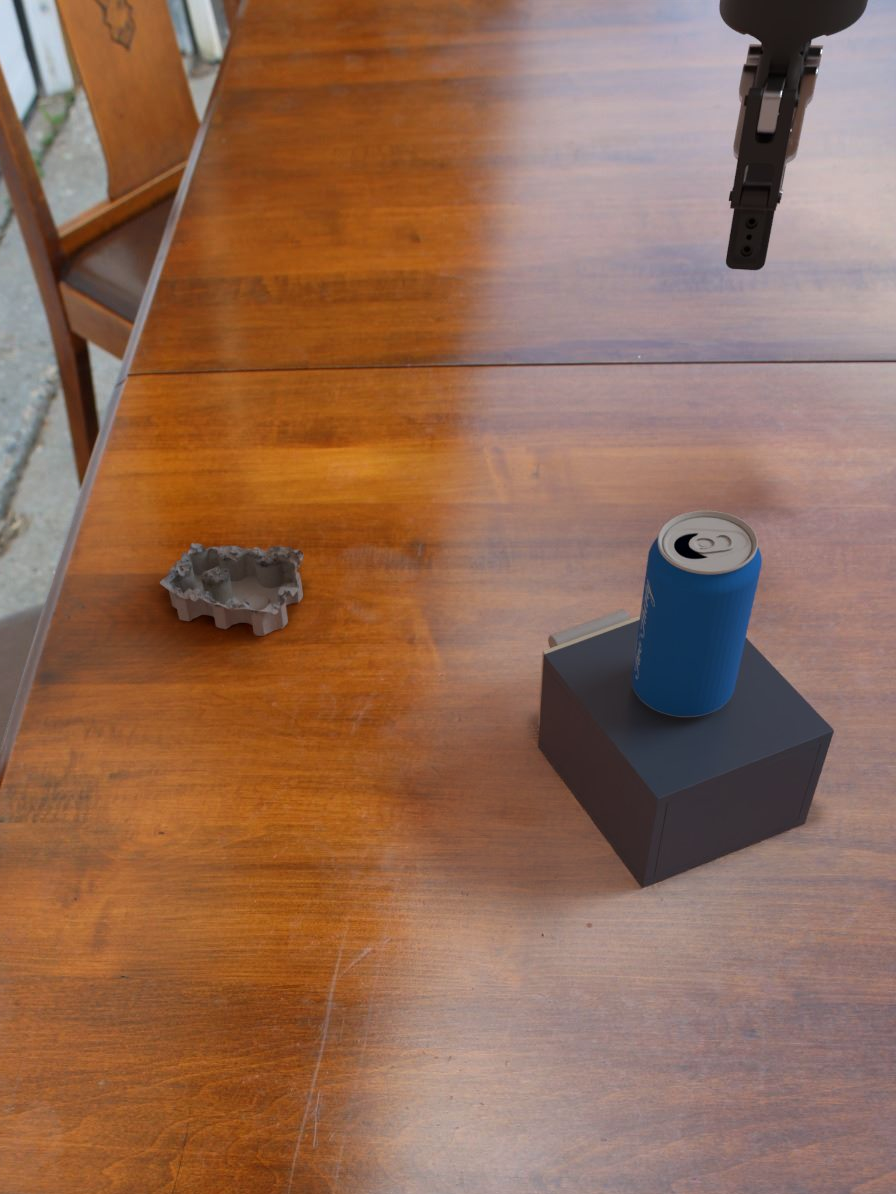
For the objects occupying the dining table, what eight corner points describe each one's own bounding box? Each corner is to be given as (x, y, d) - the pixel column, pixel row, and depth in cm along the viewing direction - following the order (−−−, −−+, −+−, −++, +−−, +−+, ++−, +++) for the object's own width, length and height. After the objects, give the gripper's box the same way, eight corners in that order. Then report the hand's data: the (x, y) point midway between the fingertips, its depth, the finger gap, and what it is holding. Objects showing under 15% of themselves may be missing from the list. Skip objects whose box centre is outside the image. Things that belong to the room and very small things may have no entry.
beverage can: (621, 662, 89) (639, 513, 79) (718, 650, 88) (748, 499, 79) (642, 731, 85) (664, 583, 75) (744, 719, 85) (779, 569, 75)
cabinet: (537, 747, 97) (543, 654, 90) (688, 690, 99) (706, 594, 92) (642, 888, 89) (657, 799, 81) (805, 823, 90) (834, 730, 83)
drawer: (512, 691, 100) (515, 617, 94) (646, 642, 101) (657, 566, 96) (633, 853, 89) (645, 780, 84) (780, 795, 91) (801, 720, 85)
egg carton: (314, 588, 111) (309, 548, 107) (275, 647, 107) (269, 607, 103) (201, 562, 114) (194, 522, 111) (160, 617, 110) (151, 578, 107)
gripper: (877, -34, 62) (806, 297, 75) (895, -140, 70) (829, 177, 83) (713, -35, 64) (671, 288, 77) (748, -137, 72) (706, 171, 85)
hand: (753, 230), depth 80 cm, fingers open, 8 cm apart
